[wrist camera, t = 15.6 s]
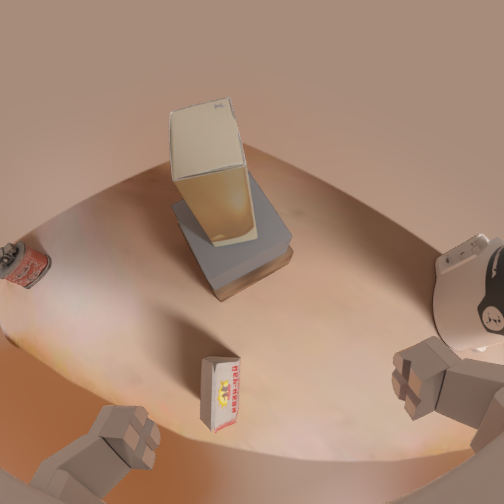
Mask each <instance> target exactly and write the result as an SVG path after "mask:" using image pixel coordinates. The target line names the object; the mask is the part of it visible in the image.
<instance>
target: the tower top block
mask: <svg viewBox="0 0 504 504" xmlns="http://www.w3.org/2000/svg"><path fill="white" fill-rule="evenodd" d="M248 176H249V182H250V189H251V195H252V202H253V209H254V215H255V222H256V228H257V235H258V237H257V239H254V240H250V241H245V242H240V243H235V244H230V245H224V246H219V247H214V245H213V244H212V242H211V241H210V239H209V238H208V236H207V234H206V233H205V231H204V230H203V228H202V227H201V225H200V224H199V222H198V220H197V219H196V217H195V216H194V214H193V213H192V211H191V209H190V208H189V206H188V205H187V203H186V202H185V200H184V199H182V200H180V201H178V202H176V203H175V204H173V205H171V206H172V209H173V211H174V213H175V215H176V217H177V219H178V221H179V224H180V226H181V228H182V230H183V232H184V234H185V236H186V238H187V240H188V242H189V244H190V246H191V248H192V250H193V252H194V254H195V256H196V258H197V260H198V262H199V264H200V266H201V268H202V270H203V272H204V274H205V276H206V278H207V280H208V282H209V283H210V284H211V286H212V287H213V288H214V290H217V289H219V288H221V287H223V286H225V285H227V284H229V283H230V282H232V281H234V280H236V279H238V278H240V277H242V276H244V275H245V274H247V273H249V272H251V271H253V270H255V269H257V268H258V267H260V266H262V265H264V264H266V263H268V262H270V261H271V260H273V259H275V258H277V257H279V256H281V255H282V254H284V253H286V252H287V249H288V246H289V243H290V240H291V238H292V235H291V233H290V232H289V230H288V229H287V227H286V226H285V224H284V223H283V221H282V220H281V218H280V217H279V215H278V214H277V212H276V211H275V209H274V208H273V206H272V205H271V203H270V202H269V200H268V199H267V197H266V196H265V194H264V193H263V191H262V190H261V188H260V187H259V185H258V184H257V182H256V181H255V179H254V178H253V177H252V175H251V174H250V172H249V171H248Z"/></svg>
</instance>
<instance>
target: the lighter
mask: <svg viewBox="0 0 504 504" xmlns="http://www.w3.org/2000/svg"><path fill="white" fill-rule="evenodd" d="M51 265H52V261H51V258H50V257H49V256H47V255H43V254H41V253H39V252H37V251H36V250H34V249H32V248H30V247H28V246H27V245H26V244H25V243H24V242H22V241H19V242H17V243H16V244H15V245H13V244H11V243H8V244H7V245H6V246H5V247H3V248H0V279H6V280H8V281H11V282H13V283H16V284H19V285H21V286H23V287H24V288H26V289H29V288H31V287H33V286H34V285H35V284H37V283H38V282H39V281H40V280H41V279H42V278H43V277H44V276H45V274H46V273H47V272H48V271H49V269H50V268H51Z"/></svg>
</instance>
